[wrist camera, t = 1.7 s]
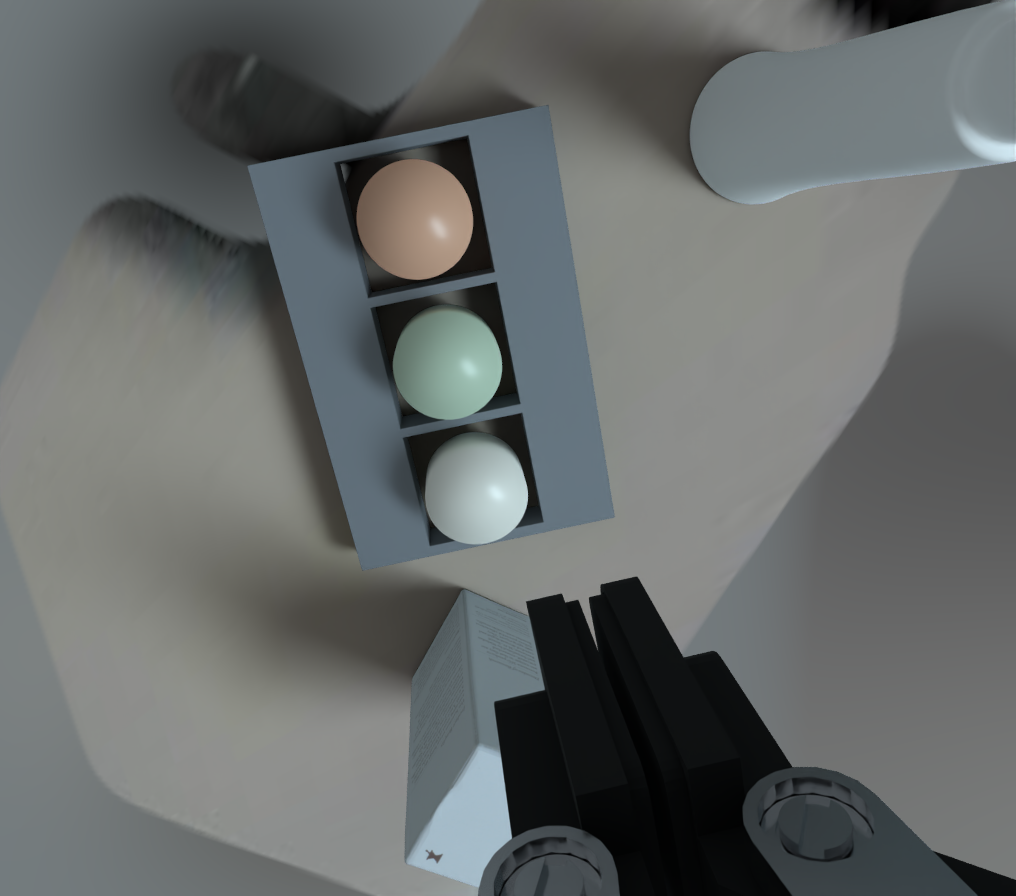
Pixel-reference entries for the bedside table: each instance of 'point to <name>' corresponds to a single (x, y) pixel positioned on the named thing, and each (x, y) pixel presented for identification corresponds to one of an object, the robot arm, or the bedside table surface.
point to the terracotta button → (414, 219)
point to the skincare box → (464, 737)
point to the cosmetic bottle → (862, 108)
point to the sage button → (447, 362)
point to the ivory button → (475, 488)
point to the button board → (352, 305)
